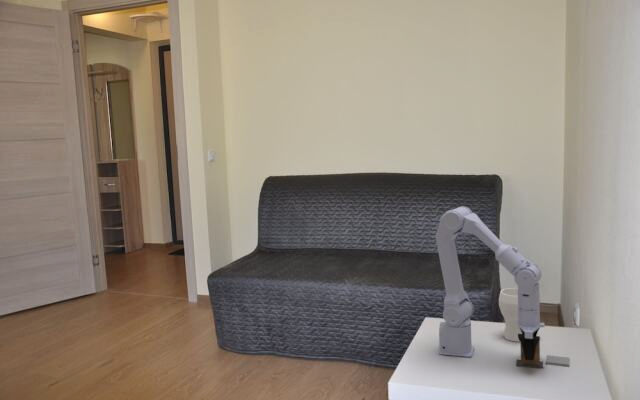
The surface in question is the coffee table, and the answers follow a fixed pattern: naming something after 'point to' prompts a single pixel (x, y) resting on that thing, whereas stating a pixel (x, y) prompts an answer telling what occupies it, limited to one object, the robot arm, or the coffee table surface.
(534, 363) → the brown wooden block
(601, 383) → the coffee table surface
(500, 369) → the coffee table surface
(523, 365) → the pad
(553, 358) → the tile
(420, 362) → the coffee table surface
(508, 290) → the cream vase
